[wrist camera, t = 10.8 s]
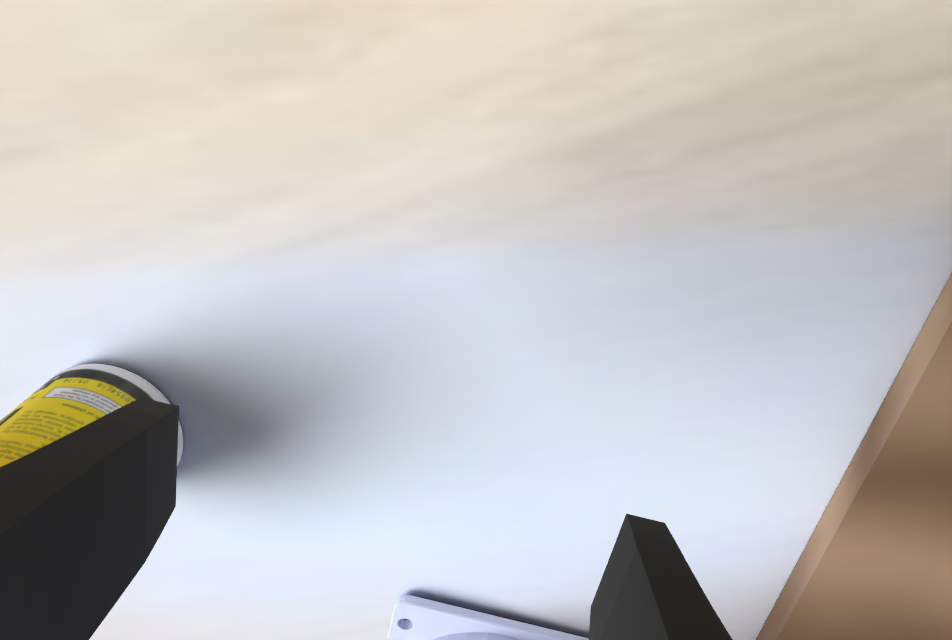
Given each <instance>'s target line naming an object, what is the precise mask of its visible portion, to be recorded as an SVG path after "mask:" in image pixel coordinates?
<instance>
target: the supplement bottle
mask: <svg viewBox="0 0 952 640" xmlns="http://www.w3.org/2000/svg"><path fill="white" fill-rule="evenodd" d="M139 398H146V399H150V400H154V401H159V402H163V403H167V404H170V402H169V401H168V400H167V398H166V397H165V396H164V395H163V394H162V393H161V392H160V391H159V390H158V389H157V388H156V387H154V386H153V385H152V384H151V383H149V382H148V381H147V380H145V379H143V378H142V377H140V376H138V375H136V374H134V373H132V372H130V371H127V370H125V369H122V368H119V367H115V366H110V365H105V364H82V365H77V366H73V367H70V368H68V369H66V370H64V371H62V372H60V373H58V374H57V375H56V376H54V377H53V378H52V379H50V380H49V381H48V382H47V383H45V384H44V385H43V386H42V387H41V388H39V389H38V390H37V391H36V392H34V393H33V394H32V395H31V396H30V397H29V398H27V399H26V400H25V401H24V402H23V403H21V404H20V405H19V406H18V407H17V408H15V409H14V410H13V411H12V412H10V413H9V414H8V415H7V416H5V417H4V418H3V419H2V420H1V421H0V467H2V466H4V465H6V464H8V463H10V462H13V461H15V460H17V459H19V458H21V457H23V456H25V455H27V454H29V453H31V452H33V451H35V450H37V449H39V448H41V447H44V446H46V445H48V444H50V443H52V442H54V441H56V440H58V439H60V438H62V437H64V436H66V435H68V434H70V433H72V432H74V431H76V430H78V429H79V428H81V427H83V426H85V425H87V424H89V423H91V422H93V421H95V420H97V419H99V418H101V417H103V416H105V415H107V414H109V413H111V412H113V411H115V410H117V409H119V408H121V407H123V406H125V405H127V404H129V403H131V402H133V401H135V400H137V399H139ZM182 452H183V434H182V428H181V424H180V421H178V449H177V466H178V464H179V462H180V459H181V456H182Z"/></svg>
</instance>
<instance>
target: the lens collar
mask: <svg viewBox="0 0 952 640" xmlns="http://www.w3.org/2000/svg"><path fill="white" fill-rule="evenodd" d="M756 640H952V274H951V275H950V277H949V279H948V281H947V283H946V285H945V287H944V288H943V290H942V292H941V294H940V296H939V298H938V300H937V302H936V303H935V305H934V307H933V309H932V311H931V313H930V315H929V317H928V318H927V320H926V322H925V324H924V326H923V328H922V330H921V332H920V333H919V335H918V337H917V339H916V341H915V343H914V345H913V347H912V348H911V350H910V352H909V354H908V356H907V358H906V360H905V362H904V363H903V365H902V367H901V369H900V371H899V373H898V375H897V377H896V378H895V380H894V382H893V384H892V386H891V388H890V390H889V392H888V393H887V395H886V397H885V399H884V401H883V403H882V405H881V407H880V408H879V410H878V412H877V414H876V416H875V418H874V420H873V421H872V423H871V425H870V427H869V429H868V431H867V433H866V435H865V436H864V438H863V440H862V442H861V444H860V446H859V448H858V450H857V451H856V453H855V455H854V457H853V459H852V461H851V463H850V465H849V466H848V468H847V470H846V472H845V474H844V476H843V478H842V480H841V481H840V483H839V485H838V487H837V489H836V491H835V493H834V495H833V496H832V498H831V500H830V502H829V504H828V506H827V508H826V510H825V511H824V513H823V515H822V517H821V519H820V521H819V523H818V525H817V526H816V528H815V530H814V532H813V534H812V536H811V538H810V539H809V541H808V543H807V545H806V547H805V549H804V551H803V553H802V554H801V556H800V558H799V560H798V562H797V564H796V566H795V568H794V569H793V571H792V573H791V575H790V577H789V579H788V581H787V583H786V584H785V586H784V588H783V590H782V592H781V594H780V596H779V598H778V599H777V601H776V603H775V605H774V607H773V609H772V611H771V613H770V614H769V616H768V618H767V620H766V622H765V624H764V626H763V628H762V629H761V631H760V633H759V635H758V637H757V639H756Z"/></svg>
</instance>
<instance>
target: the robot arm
mask: <svg viewBox="0 0 952 640" xmlns="http://www.w3.org/2000/svg"><path fill="white" fill-rule="evenodd" d="M178 421H179V406H175V405H171V404H167V403H163V402H159V401H154V400H150V399H146V398H139V399H137V400H135V401H133V402H131V403H129V404H127V405H125V406H123V407H121V408H119V409H117V410H115V411H113V412H111V413H109V414H107V415H105V416H103V417H101V418H99V419H97V420H95V421H93V422H91V423H89V424H87V425H85V426H83V427H81V428H79V429H78V430H76V431H74V432H72V433H70V434H68V435H66V436H64V437H62V438H60V439H58V440H56V441H54V442H52V443H50V444H48V445H46V446H44V447H41V448H39V449H37V450H35V451H33V452H31V453H29V454H27V455H25V456H23V457H21V458H19V459H17V460H15V461H13V462H10V463H8V464H6V465H4V466H2V467H0V640H89V639H90V637H91V636H92V635H93V633H94V632H95V631H96V629H97V628H98V626H99V625H100V624H101V622H102V621H103V620H104V618H105V617H106V616H107V614H108V613H109V611H110V610H111V609H112V607H113V606H114V605H115V603H116V602H117V600H118V599H119V598H120V596H121V595H122V593H123V592H124V591H125V589H126V588H127V587H128V585H129V584H130V582H131V581H132V580H133V578H134V577H135V575H136V574H137V573H138V571H139V570H140V568H141V567H142V565H143V564H144V563H145V561H146V559H147V557H148V556H149V554H150V552H151V550H152V549H153V547H154V545H155V543H156V542H157V540H158V538H159V536H160V534H161V533H162V531H163V529H164V527H165V525H166V523H167V521H168V519H169V518H170V516H171V514H172V512H173V510H174V508H175V504H176V476H177V449H178ZM402 618H403V619H402ZM404 619H408V620H410V621H406V620H404ZM387 640H732V638H731V637H730V635H729V634H728V632H727V630H726V629H725V627H724V625H723V624H722V622H721V620H720V619H719V617H718V616H717V614H716V612H715V611H714V609H713V607H712V606H711V604H710V602H709V600H708V599H707V597H706V595H705V594H704V592H703V590H702V588H701V587H700V585H699V583H698V581H697V579H696V578H695V576H694V574H693V572H692V571H691V569H690V567H689V565H688V563H687V562H686V560H685V558H684V556H683V554H682V553H681V551H680V549H679V547H678V545H677V544H676V542H675V540H674V538H673V536H672V535H671V533H670V531H669V529H668V528H667V526H666V524H665V523H663V522H658V521H654V520H650V519H646V518H642V517H638V516H633V515H629V514H626V517H625V519H624V522H623V524H622V527H621V530H620V532H619V535H618V537H617V540H616V543H615V545H614V548H613V551H612V553H611V556H610V558H609V561H608V564H607V566H606V569H605V571H604V574H603V577H602V579H601V582H600V584H599V587H598V590H597V592H596V595H595V598H594V600H593V603H592V605H591V614H590V630H589V638H585V637H581V636H577V635H573V634H568V633H564V632H560V631H556V630H552V629H548V628H544V627H539V626H535V625H531V624H527V623H523V622H519V621H515V620H511V619H506V618H502V617H498V616H494V615H490V614H486V613H482V612H477V611H473V610H469V609H465V608H461V607H457V606H453V605H449V604H444V603H440V602H436V601H432V600H428V599H424V598H420V597H415V596H411V595H404V596H401V597H399V598H398V599H397V600H396V602H395V605H394V609H393V613H392V618H391V622H390V627H389V631H388V636H387Z"/></svg>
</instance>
